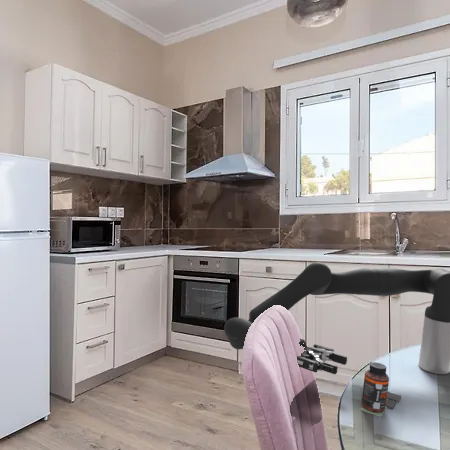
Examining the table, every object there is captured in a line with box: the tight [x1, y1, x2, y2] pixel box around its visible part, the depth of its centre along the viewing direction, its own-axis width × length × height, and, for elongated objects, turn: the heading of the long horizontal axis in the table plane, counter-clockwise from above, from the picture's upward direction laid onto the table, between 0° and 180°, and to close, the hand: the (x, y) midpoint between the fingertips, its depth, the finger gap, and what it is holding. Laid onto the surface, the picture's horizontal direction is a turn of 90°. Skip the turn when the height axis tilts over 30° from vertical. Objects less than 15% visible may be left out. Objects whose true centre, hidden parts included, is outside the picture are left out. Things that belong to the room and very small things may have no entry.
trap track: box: [360, 391, 402, 418], centre depth 110 cm, size 16×7×1 cm, turn 146°
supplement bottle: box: [361, 361, 390, 412], centre depth 107 cm, size 6×6×11 cm
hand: (341, 365), depth 111 cm, fingers open, 8 cm apart
